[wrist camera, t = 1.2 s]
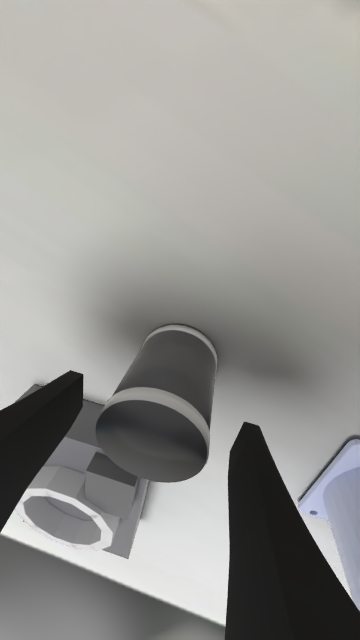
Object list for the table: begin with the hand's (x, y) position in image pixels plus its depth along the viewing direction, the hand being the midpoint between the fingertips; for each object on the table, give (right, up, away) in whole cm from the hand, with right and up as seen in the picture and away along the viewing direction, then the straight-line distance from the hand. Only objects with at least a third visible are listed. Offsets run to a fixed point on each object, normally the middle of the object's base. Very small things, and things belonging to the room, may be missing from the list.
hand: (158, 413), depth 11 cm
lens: (+1, +2, +4) cm, 5 cm away
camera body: (-6, -8, +10) cm, 15 cm away
